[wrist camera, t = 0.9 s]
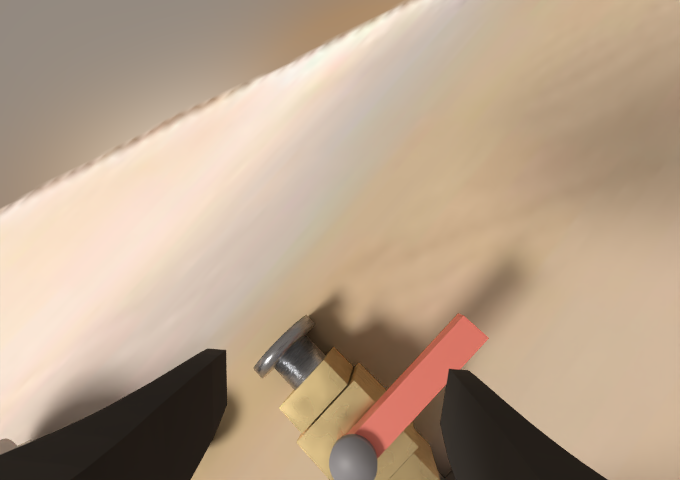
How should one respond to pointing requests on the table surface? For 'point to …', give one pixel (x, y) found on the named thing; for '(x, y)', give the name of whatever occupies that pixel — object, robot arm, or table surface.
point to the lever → (404, 401)
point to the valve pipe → (338, 405)
